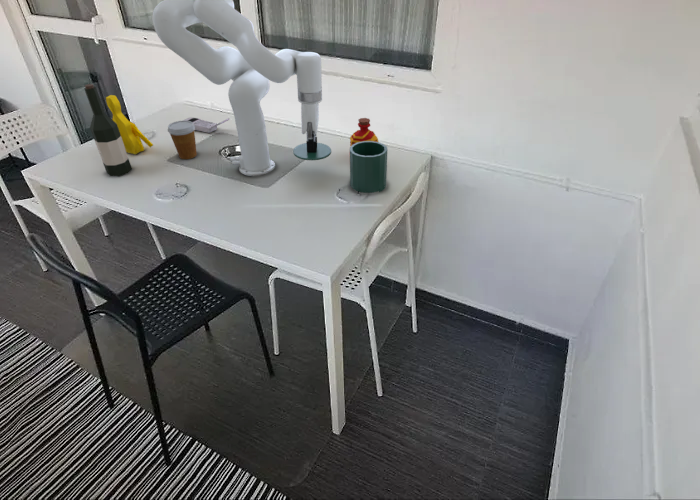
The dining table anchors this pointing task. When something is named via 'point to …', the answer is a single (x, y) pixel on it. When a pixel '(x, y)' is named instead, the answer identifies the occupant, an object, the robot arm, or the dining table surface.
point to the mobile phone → (204, 124)
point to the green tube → (368, 166)
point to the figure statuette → (126, 128)
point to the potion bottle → (363, 132)
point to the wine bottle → (107, 137)
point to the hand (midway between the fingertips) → (312, 149)
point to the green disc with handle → (321, 153)
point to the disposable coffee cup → (183, 138)
